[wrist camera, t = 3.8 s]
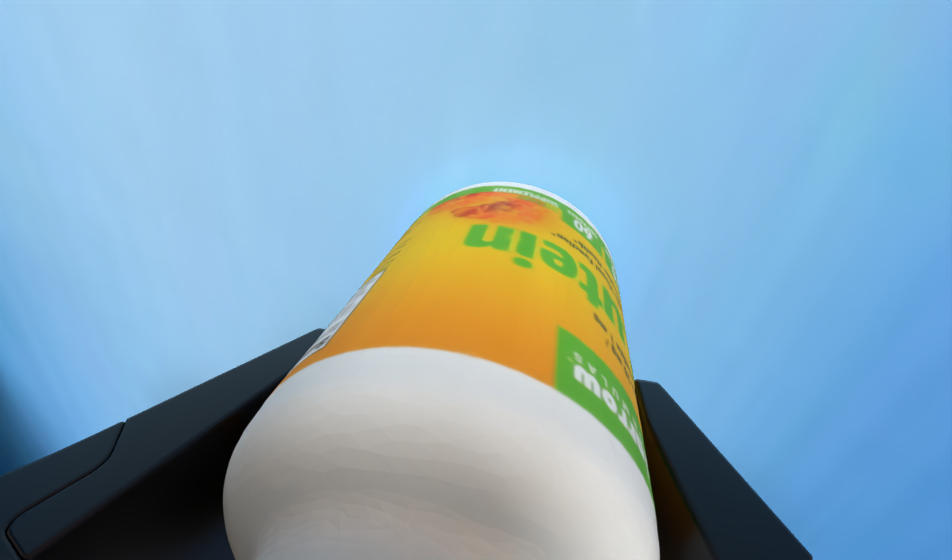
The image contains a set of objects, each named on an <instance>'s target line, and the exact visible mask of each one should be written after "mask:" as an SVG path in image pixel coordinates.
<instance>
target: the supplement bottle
mask: <svg viewBox="0 0 952 560" xmlns="http://www.w3.org/2000/svg"><path fill="white" fill-rule="evenodd" d="M223 513H224V521H225V528H226V532H227V537H228V541H229V544H230V546H231V549H232V552H233V555H234V557H235V560H660V551H659V540H658V533H657V520H656V512H655V505H654V500H653V494H652V488H651V481H650V475H649V470H648V464H647V458H646V452H645V447H644V440H643V434H642V428H641V422H640V417H639V411H638V405H637V399H636V394H635V386H634V377H633V371H632V365H631V361H630V356H629V350H628V344H627V339H626V332H625V325H624V318H623V312H622V305H621V299H620V292H619V286H618V280H617V275H616V271H615V266H614V262H613V259H612V256H611V254H610V251H609V249H608V247H607V245H606V243H605V241H604V239H603V238H602V236H601V234H600V233H599V232H598V230H597V229H596V227H595V226H594V225H593V224H592V223H591V221H590V220H589V219H588V218H587V217H586V216H585V215H584V214H583V213H582V212H581V211H579V210H578V209H577V208H576V207H574V206H573V205H572V204H570V203H569V202H567V201H566V200H564V199H562V198H561V197H559V196H557V195H555V194H553V193H551V192H548V191H546V190H543V189H540V188H537V187H535V186H531V185H527V184H521V183H514V182H486V183H480V184H475V185H471V186H467V187H464V188H461V189H459V190H456V191H454V192H452V193H449V194H447V195H446V196H444V197H442V198H441V199H439V200H438V201H436V202H435V203H434V204H432V205H431V206H430V207H429V208H428V209H427V210H426V211H425V212H423V214H422V215H421V216H420V217H419V218H418V219H417V220H416V221H415V222H414V223H413V224H412V225H411V227H410V228H409V229H408V230H407V231H406V232H405V234H404V235H403V236H402V237H401V239H400V240H399V241H398V242H397V243H396V245H395V246H394V247H393V248H392V250H391V251H390V252H389V253H388V255H387V256H386V257H385V258H384V259H383V261H382V262H381V263H380V264H379V266H378V267H377V268H376V269H375V271H374V272H373V273H372V274H371V275H370V277H369V278H368V279H367V280H366V281H365V282H364V284H363V285H362V286H361V288H360V289H359V290H358V291H357V292H356V294H355V295H354V296H353V297H352V298H351V299H350V301H349V302H348V303H347V304H346V306H345V307H344V308H343V309H342V311H341V312H340V313H339V314H338V315H337V316H336V318H335V319H334V320H333V321H332V322H331V324H330V325H329V326H328V327H327V328H326V330H325V331H324V332H323V333H322V335H321V336H320V337H319V338H318V339H317V341H316V342H315V343H314V344H313V345H312V347H311V348H310V349H309V350H308V351H307V352H306V353H305V354H304V356H303V357H302V358H301V359H300V360H299V362H298V363H297V364H296V365H295V366H294V368H293V369H292V370H291V371H290V372H289V373H288V375H287V376H286V377H285V378H284V379H283V381H282V382H281V383H280V384H279V385H278V386H277V387H276V389H275V390H274V391H273V392H272V394H271V395H270V396H269V397H268V398H267V400H266V401H265V402H264V404H263V406H262V407H261V409H260V410H259V411H258V412H257V414H256V415H255V416H254V418H253V419H252V421H251V422H250V423H249V425H248V426H247V428H246V429H245V431H244V432H243V434H242V436H241V438H240V440H239V442H238V443H237V445H236V447H235V449H234V451H233V454H232V456H231V459H230V462H229V465H228V469H227V472H226V477H225V482H224V489H223Z"/></svg>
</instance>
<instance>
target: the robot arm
mask: <svg viewBox="0 0 952 560" xmlns="http://www.w3.org/2000/svg"><path fill="white" fill-rule="evenodd" d="M325 330H326V329H321V328H319V329H316V330H314V331H312V332H309V333H307V334H305V335H303V336H301V337H299V338H297V339H295V340H293V341H290V342H288V343H286V344H284V345H282V346H280V347H278V348H276V349H274V350H272V351H269V352H267V353H265V354H263V355H261V356H259V357H257V358H255V359H253V360H250V361H248V362H246V363H244V364H242V365H240V366H238V367H236V368H234V369H232V370H229V371H227V372H225V373H223V374H221V375H219V376H217V377H215V378H213V379H210V380H208V381H206V382H204V383H202V384H200V385H198V386H196V387H194V388H191V389H189V390H187V391H185V392H183V393H181V394H179V395H177V396H175V397H172V398H170V399H168V400H166V401H164V402H162V403H160V404H158V405H156V406H154V407H151V408H149V409H147V410H145V411H143V412H141V413H139V414H137V415H135V416H132V417H130V418H128V419H127V420H126V422H120V423H117V424H115V425H113V426H111V427H109V428H107V429H105V430H103V431H101V432H99V433H96V434H94V435H92V436H90V437H88V438H86V439H83V440H81V441H79V442H77V443H75V444H72V445H70V446H68V447H66V448H64V449H62V450H59V451H57V452H55V453H53V454H50V455H48V456H46V457H43V458H41V459H39V460H36V461H34V462H32V463H29V464H27V465H25V466H22V467H20V468H17V469H15V470H13V471H10V472H8V473H6V474H3V475H1V476H0V560H235V557H234V555H233V552H232V549H231V546H230V544H229V541H228V537H227V532H226V528H225V521H224V513H223V489H224V482H225V477H226V472H227V469H228V465H229V462H230V459H231V456H232V454H233V451H234V449H235V447H236V445H237V443H238V442H239V440H240V438H241V436H242V434H243V432H244V431H245V429H246V428H247V426H248V425H249V423H250V422H251V421H252V419H253V418H254V416H255V415H256V414H257V412H258V411H259V410H260V409H261V407H262V406H263V404H264V402H265V401H266V400H267V398H268V397H269V396H270V395H271V394H272V392H273V391H274V390H275V389H276V387H277V386H278V385H279V384H280V383H281V382H282V381H283V379H284V378H285V377H286V376H287V375H288V373H289V372H290V371H291V370H292V369H293V368H294V366H295V365H296V364H297V363H298V362H299V360H300V359H301V358H302V357H303V356H304V354H305V353H306V352H307V351H308V350H309V349H310V348H311V347H312V345H313V344H314V343H315V342H316V341H317V339H318V338H319V337H320V336H321V335H322V333H323V332H324V331H325ZM634 386H635V394H636V399H637V405H638V411H639V417H640V422H641V428H642V434H643V440H644V447H645V452H646V458H647V464H648V470H649V475H650V481H651V488H652V494H653V500H654V505H655V512H656V520H657V533H658V540H659V551H660V560H813V557H812V555H811V554H810V553H809V552H808V551H807V550H806V548H805V547H804V546H803V545H802V544H801V543H800V542H799V540H798V539H797V538H796V537H795V536H794V535H793V534H792V533H791V531H790V530H789V529H788V528H787V527H786V526H785V525H784V524H783V522H782V521H781V520H780V519H779V518H778V517H777V516H776V515H775V513H774V512H773V511H772V510H771V509H770V508H769V507H768V506H767V504H766V503H765V502H764V501H763V500H762V499H761V498H760V497H759V495H758V494H757V493H756V492H755V491H754V490H753V489H752V488H751V486H750V485H749V484H748V483H747V482H746V481H745V480H744V479H743V477H742V476H741V475H740V474H739V473H738V472H737V471H736V469H735V468H734V467H733V466H732V465H731V464H730V463H729V462H728V460H727V459H726V458H725V457H724V456H723V455H722V454H721V453H720V451H719V450H718V449H717V448H716V447H715V446H714V445H713V444H712V442H711V441H710V440H709V439H708V438H707V437H706V436H705V435H704V433H703V432H702V431H701V430H700V429H699V428H698V427H697V426H696V424H695V423H694V422H693V421H692V420H691V419H690V418H689V417H688V415H687V414H686V413H685V412H684V411H683V410H682V409H681V408H680V406H679V405H678V404H677V403H676V402H675V401H674V400H673V398H672V397H671V396H670V395H669V394H668V393H667V392H666V391H665V389H664V388H663V387H662V386H661V385H660V384H659V383H657V382H652V381H646V380H640V379H636V380H634Z"/></svg>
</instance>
